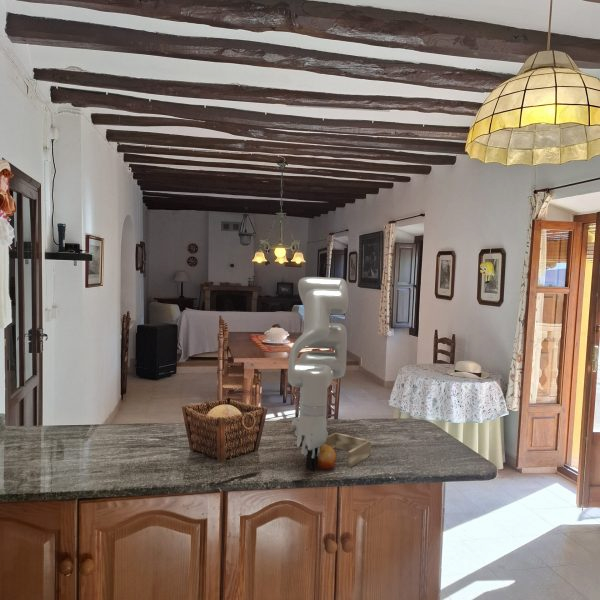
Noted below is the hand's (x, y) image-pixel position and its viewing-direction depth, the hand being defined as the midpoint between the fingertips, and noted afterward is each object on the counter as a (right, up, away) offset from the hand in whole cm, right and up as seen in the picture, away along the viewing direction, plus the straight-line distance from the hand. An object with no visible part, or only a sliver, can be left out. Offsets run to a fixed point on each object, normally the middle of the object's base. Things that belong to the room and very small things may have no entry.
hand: (311, 469), depth 155 cm
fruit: (+4, -1, +5) cm, 6 cm away
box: (+11, -1, +16) cm, 19 cm away
